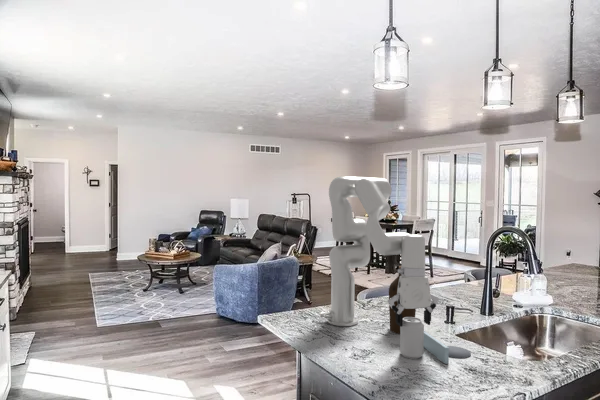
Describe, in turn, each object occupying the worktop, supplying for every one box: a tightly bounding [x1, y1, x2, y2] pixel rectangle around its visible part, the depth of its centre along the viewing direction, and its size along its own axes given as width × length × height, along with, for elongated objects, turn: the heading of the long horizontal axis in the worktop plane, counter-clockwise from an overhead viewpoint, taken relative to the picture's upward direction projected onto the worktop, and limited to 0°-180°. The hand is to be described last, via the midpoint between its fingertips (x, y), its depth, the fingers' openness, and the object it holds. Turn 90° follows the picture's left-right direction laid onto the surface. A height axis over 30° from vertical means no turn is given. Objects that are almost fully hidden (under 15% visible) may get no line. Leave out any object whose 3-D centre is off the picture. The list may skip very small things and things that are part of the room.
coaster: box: [446, 345, 472, 359], centre depth 141 cm, size 10×10×1 cm
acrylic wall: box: [424, 330, 450, 364], centre depth 139 cm, size 1×16×5 cm, turn 11°
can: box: [399, 316, 425, 360], centre depth 138 cm, size 8×8×12 cm
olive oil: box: [388, 265, 417, 335], centre depth 163 cm, size 11×11×25 cm
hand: (413, 324), depth 137 cm, fingers open, 9 cm apart
